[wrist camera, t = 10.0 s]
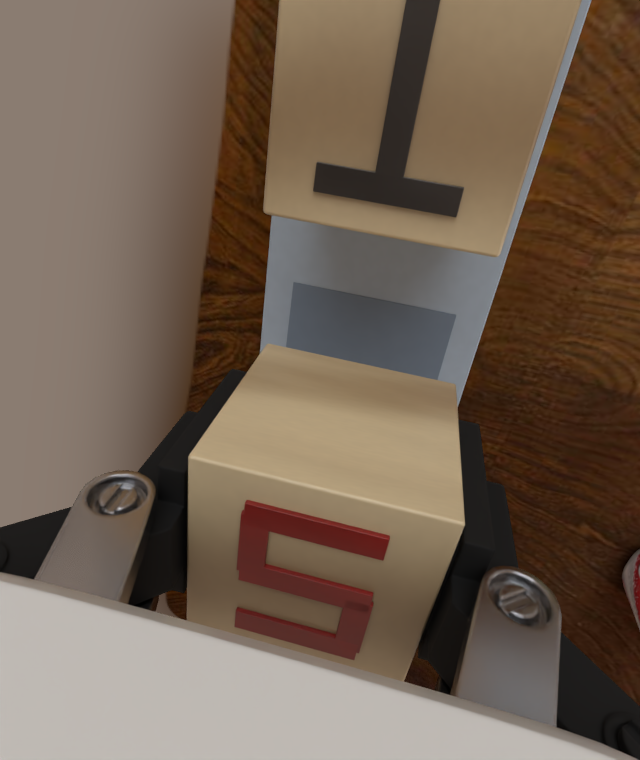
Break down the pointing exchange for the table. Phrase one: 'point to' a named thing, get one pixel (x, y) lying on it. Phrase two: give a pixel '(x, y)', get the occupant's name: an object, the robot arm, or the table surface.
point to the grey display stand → (389, 287)
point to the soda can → (633, 583)
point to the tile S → (326, 509)
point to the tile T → (411, 114)
